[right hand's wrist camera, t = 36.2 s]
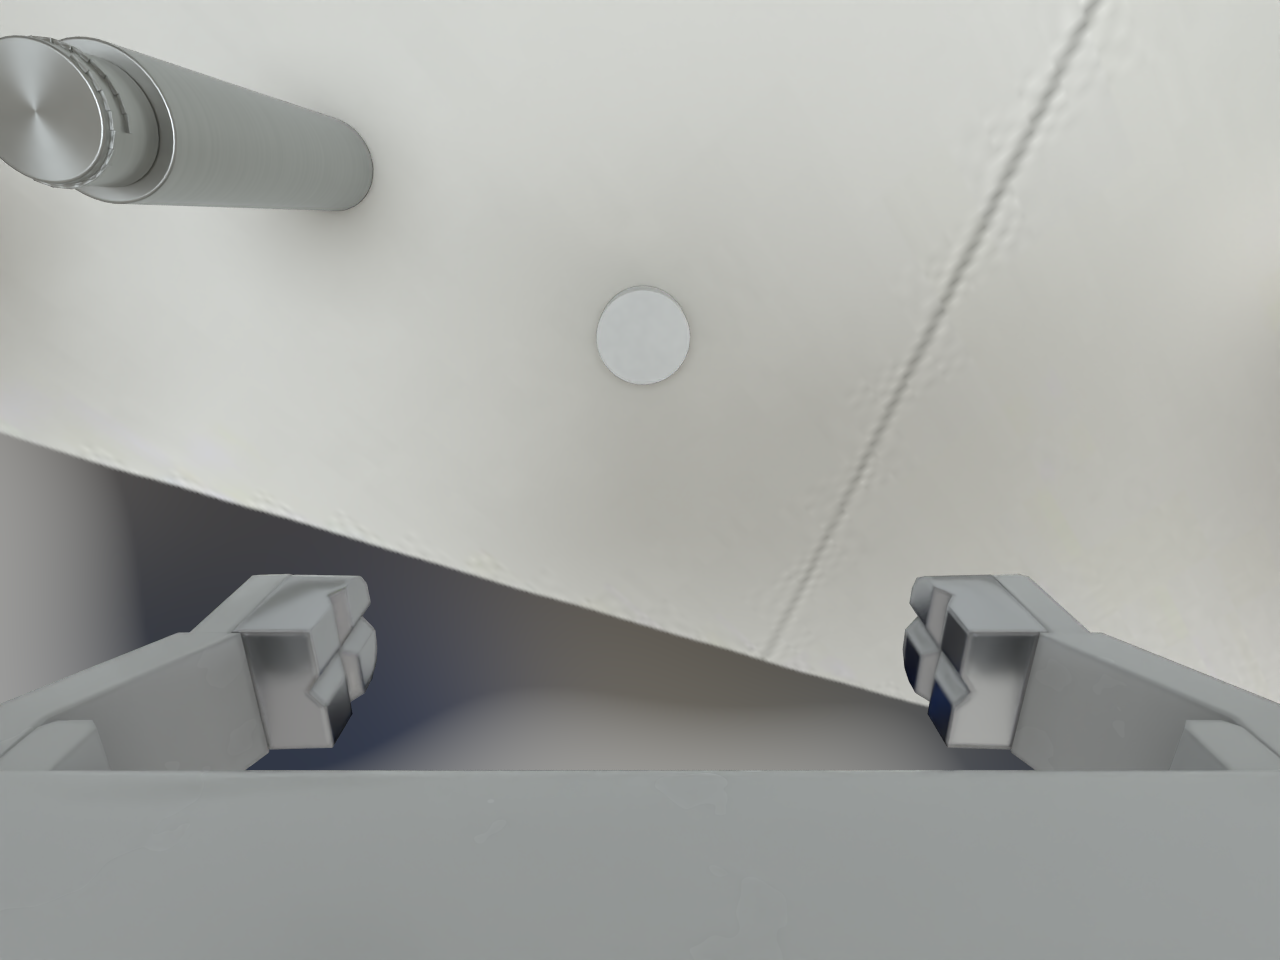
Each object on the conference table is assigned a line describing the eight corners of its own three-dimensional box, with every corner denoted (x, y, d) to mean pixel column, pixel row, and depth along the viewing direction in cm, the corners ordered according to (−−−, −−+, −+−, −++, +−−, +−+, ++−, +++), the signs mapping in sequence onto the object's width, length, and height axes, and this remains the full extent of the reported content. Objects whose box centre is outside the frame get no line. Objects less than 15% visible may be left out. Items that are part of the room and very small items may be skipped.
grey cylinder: (333, 229, 35) (59, 236, 19) (268, 158, 34) (-87, 98, 17) (391, 171, 34) (155, 124, 18) (325, 96, 33) (8, -30, 16)
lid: (657, 390, 38) (658, 401, 36) (583, 346, 37) (579, 354, 35) (703, 315, 37) (708, 322, 35) (627, 268, 36) (626, 271, 34)
